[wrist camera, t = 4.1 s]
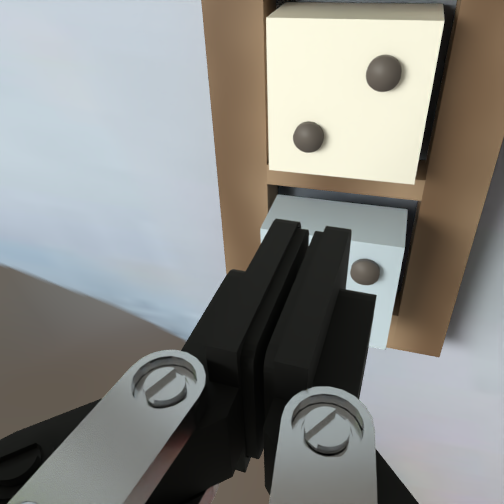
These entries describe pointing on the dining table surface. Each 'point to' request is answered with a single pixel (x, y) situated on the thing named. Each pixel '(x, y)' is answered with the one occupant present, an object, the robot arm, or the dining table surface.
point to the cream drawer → (350, 87)
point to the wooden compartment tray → (424, 189)
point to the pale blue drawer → (356, 247)
